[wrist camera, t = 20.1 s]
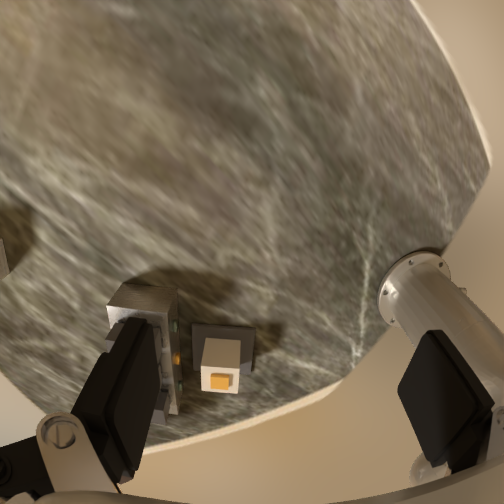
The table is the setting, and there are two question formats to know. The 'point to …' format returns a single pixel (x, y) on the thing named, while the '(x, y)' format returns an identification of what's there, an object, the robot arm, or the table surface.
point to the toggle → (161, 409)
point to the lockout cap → (220, 365)
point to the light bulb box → (3, 261)
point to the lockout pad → (223, 332)
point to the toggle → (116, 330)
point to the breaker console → (160, 316)
